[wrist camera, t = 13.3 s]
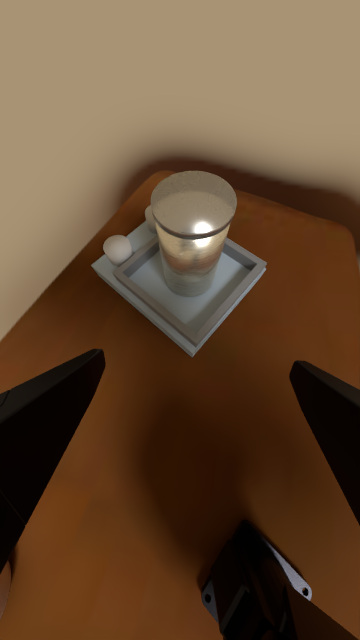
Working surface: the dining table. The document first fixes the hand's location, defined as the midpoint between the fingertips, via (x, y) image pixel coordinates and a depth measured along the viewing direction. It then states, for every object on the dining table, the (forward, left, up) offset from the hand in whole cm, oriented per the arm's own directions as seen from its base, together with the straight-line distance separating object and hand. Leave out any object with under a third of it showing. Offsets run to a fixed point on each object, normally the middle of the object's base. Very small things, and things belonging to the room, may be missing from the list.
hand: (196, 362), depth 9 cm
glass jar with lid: (+8, -10, -10) cm, 16 cm away
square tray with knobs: (+10, -9, -13) cm, 19 cm away
